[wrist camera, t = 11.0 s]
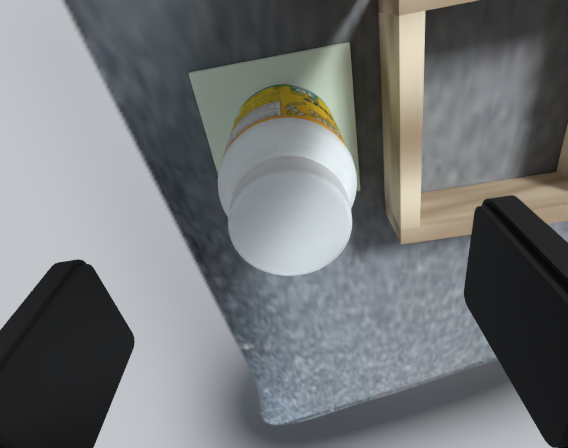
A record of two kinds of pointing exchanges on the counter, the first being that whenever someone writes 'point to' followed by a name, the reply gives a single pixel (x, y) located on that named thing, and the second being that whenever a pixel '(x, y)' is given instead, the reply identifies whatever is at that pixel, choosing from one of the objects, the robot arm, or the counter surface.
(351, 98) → the green mat
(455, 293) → the counter surface
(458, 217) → the birch box
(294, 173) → the supplement bottle
